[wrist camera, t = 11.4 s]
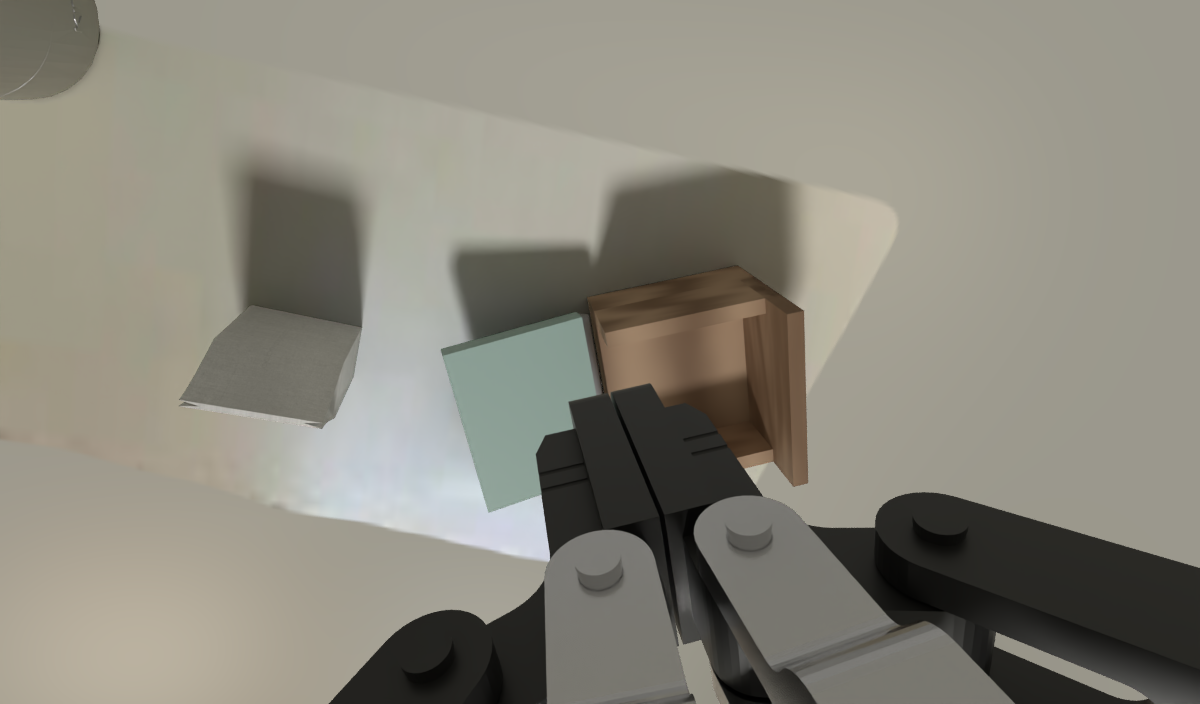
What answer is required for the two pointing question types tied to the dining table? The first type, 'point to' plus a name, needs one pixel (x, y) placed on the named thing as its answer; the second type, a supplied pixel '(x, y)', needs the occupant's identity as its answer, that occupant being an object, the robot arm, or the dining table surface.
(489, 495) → the panel
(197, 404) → the grey wedge block
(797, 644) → the robot arm
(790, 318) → the brown wooden open box
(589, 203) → the dining table surface
